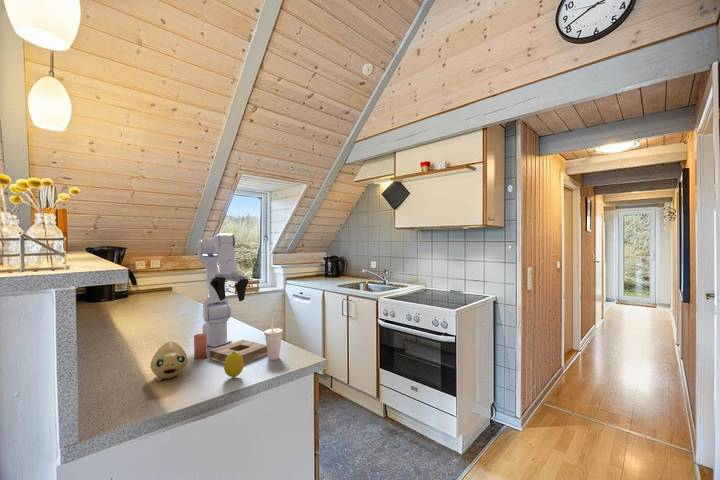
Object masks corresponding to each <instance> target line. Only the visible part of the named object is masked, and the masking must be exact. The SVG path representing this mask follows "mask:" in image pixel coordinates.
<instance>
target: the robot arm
mask: <svg viewBox="0 0 720 480" xmlns="http://www.w3.org/2000/svg"><path fill="white" fill-rule="evenodd" d="M235 246H236V238H235V234H233V233H225V232H218V233H217V234H215V235H214V236H213V237H208V238H202V239H200V240H198V242H197V255H198V261H199V262H201V263H202V264H203V266H204V269H205V274H206V283H207V289H208V290H207V291H208V296H209V297H208V298H207V299H206V300H205V301H204V303H203V305H202V318H203V321H204V323H203V325H202V334H207V346H209V347H212V348H218V347H221V346H224V345H227V344H230V343H233V340H230V339H228V321H229V319H230V318H231V316H232V308H231V304H230V301H229V299H228V298H226V288H225V287H226V281H230V282H236V283H235V284H234V285H233V286H234V288H235V290H236V293H237V298H238V301H239V302H243V301H244V300H245V299H246V298H245V296H246V292H247V291H246V289H247V286H248V284H249V276H247V275H244V274H241V273H239V271H238V267H237V260H236V253H235V248H236V247H235ZM218 267H219V269H218ZM218 270H219V271H218Z"/></svg>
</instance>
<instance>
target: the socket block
mask: <svg viewBox="0 0 720 480" xmlns="http://www.w3.org/2000/svg"><path fill="white" fill-rule="evenodd" d="M232 352H236V353H239V354H240V355H241V356H242V358H243V362H244V364H246V363H249V362H251V361H253V360H254V361H255V360H256V359H259V358H261V357H263V356H266V355H268V352H267V345H266V344H262V343H259V342H255V341H251V340H247V339H241V340H237V341H234V342H230V343H227V344H224V345H220V346H217V347H214V348H212V349H210V350H209V359H210V360H212V361H216V362H219V363H223V364H224V362H225V359H226V357H227V356H228V355H229V354H231V353H232Z"/></svg>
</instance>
